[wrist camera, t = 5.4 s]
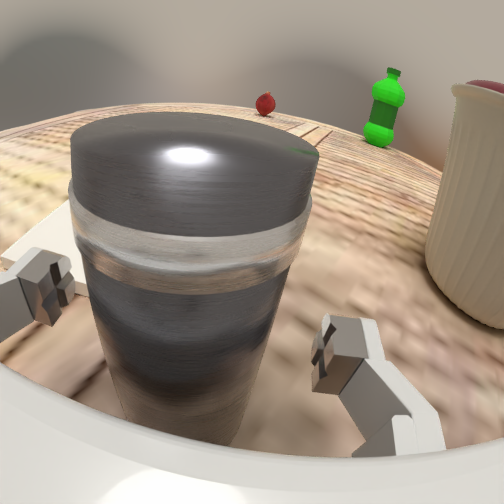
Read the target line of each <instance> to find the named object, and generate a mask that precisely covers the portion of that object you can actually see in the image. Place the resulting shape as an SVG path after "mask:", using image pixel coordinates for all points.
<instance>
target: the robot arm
mask: <svg viewBox="0 0 504 504" xmlns="http://www.w3.org/2000/svg"><path fill="white" fill-rule="evenodd" d="M71 268H72V265H71V261H70V258H68V257H67V256H64V255H61V254H58V253H55V252H52V251H48V250H44V249H41V248H38V247H32V248H30V249H29V250H28V251H27V252H26V253H25V254H24V255H23V256H22V257H21V258H20V259H19V260H17V261H16V262H15V263H14V264H13V265H12V266H11V267H10V268H9V269H8V270H7V271H6V272H3V271H2V272H0V343H1V342H2V341H4V340H5V339H7V338H8V337H10V336H11V335H13V334H15V333H16V332H18V331H19V330H21V329H22V328H24V327H25V326H27V325H29V324H30V323H32V322H33V321H34V320H35V321H38V322H41V323H43V324H46V325H49V326H51V327H53V325H54V324H55V322H56V321H57V320H58V318H59V317H60V316H61V314H62V307H65V306H67V305H69V303H70V302H71V300H72V299H73V296H74V293H75V279H74V277H73V276H72V274H71V273H70V270H71ZM311 362H312V364H313V365H314V366H315V368H314V370H313V372H312V392H317V393H325V394H333V395H339V396H338V397H339V398H340V400H341V402H342V403H343V405H344V406H345V408H346V410H347V411H348V413H349V414H350V416H351V418H352V419H353V421H354V422H355V424H356V426H357V427H358V429H359V430H360V432H361V434H362V435H363V437H364V438H365V440H366V442H365V443H364V444H363V445H361V446H360V447H359V448H358V449H357V450H355V451H354V452H353V453H352V457H313V456H298V455H286V454H276V453H267V452H259V451H252V450H245V449H239V448H233V447H227V446H222V445H216V444H211V443H207V442H202V441H197V440H193V439H189V438H185V437H180V436H177V435H173V434H169V433H165V432H162V431H158V430H155V429H151V428H148V427H145V426H141V425H138V424H135V423H132V422H129V421H126V420H123V419H120V418H117V417H115V416H112V415H109V414H106V413H104V412H101V411H99V410H96V409H93V408H91V407H89V406H86V405H84V404H81V403H79V402H77V401H74V400H72V399H70V398H67V397H65V396H63V395H61V394H59V393H57V392H54V391H52V390H50V389H48V388H46V387H44V386H42V385H40V384H38V383H36V382H34V381H32V380H31V379H29V378H27V377H25V376H23V375H21V374H20V373H18V372H16V371H14V370H12V369H11V368H9V367H7V366H6V365H4V364H2V363H1V362H0V504H504V437H503V438H499V439H496V440H492V441H488V442H483V443H479V444H474V445H469V446H464V447H459V448H454V449H448V450H446V446H445V442H444V437H443V433H442V428H441V424H440V420H439V416H438V413H437V411H436V410H435V409H434V408H433V407H432V406H431V405H430V404H429V403H428V402H427V400H426V399H425V398H424V397H423V396H422V395H421V394H420V393H419V392H418V391H417V390H416V388H415V387H414V386H413V385H412V384H411V383H410V382H409V381H408V380H407V379H406V378H405V377H404V375H403V374H402V373H401V372H400V371H399V370H398V369H397V368H396V367H395V366H394V365H393V364H392V363H391V362H390V361H386V359H385V355H384V351H383V347H382V343H381V339H380V335H379V331H378V328H377V324H376V321H375V320H374V319H367V318H357V317H351V316H344V315H338V314H331V313H326V315H325V316H324V318H323V320H322V330H320V331H319V332H317V333H316V336H315V338H314V341H313V345H312V350H311Z"/></svg>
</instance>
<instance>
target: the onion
mask: <svg viewBox="0 0 504 504" xmlns="http://www.w3.org/2000/svg"><path fill="white" fill-rule="evenodd" d="M256 109H257V110H258V112H259V113H260V114H261V115H262V116H266V115H267V114H269V113H271V112H272V111H273V110H274V109H275V100H274V99H273V97H272V96H270V92H269V91H268V92H266V93H265V94H263V95H262V96H260V97H259V98H258V99H257V101H256Z"/></svg>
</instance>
